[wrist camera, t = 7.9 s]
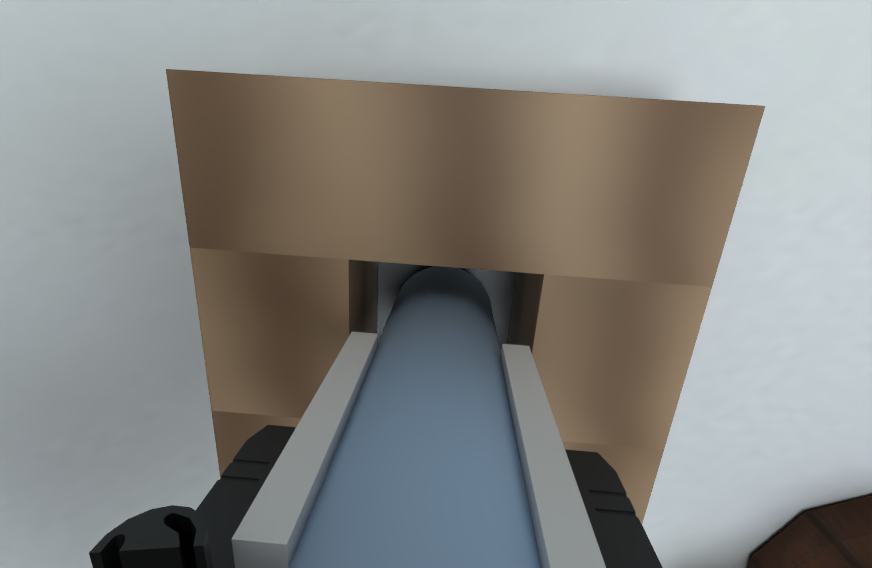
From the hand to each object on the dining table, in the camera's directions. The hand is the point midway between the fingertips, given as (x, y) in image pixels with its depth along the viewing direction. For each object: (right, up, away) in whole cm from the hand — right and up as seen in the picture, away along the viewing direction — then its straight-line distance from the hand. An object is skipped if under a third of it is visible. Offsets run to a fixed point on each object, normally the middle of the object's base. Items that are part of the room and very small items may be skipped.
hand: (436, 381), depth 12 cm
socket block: (0, +2, +6) cm, 7 cm away
